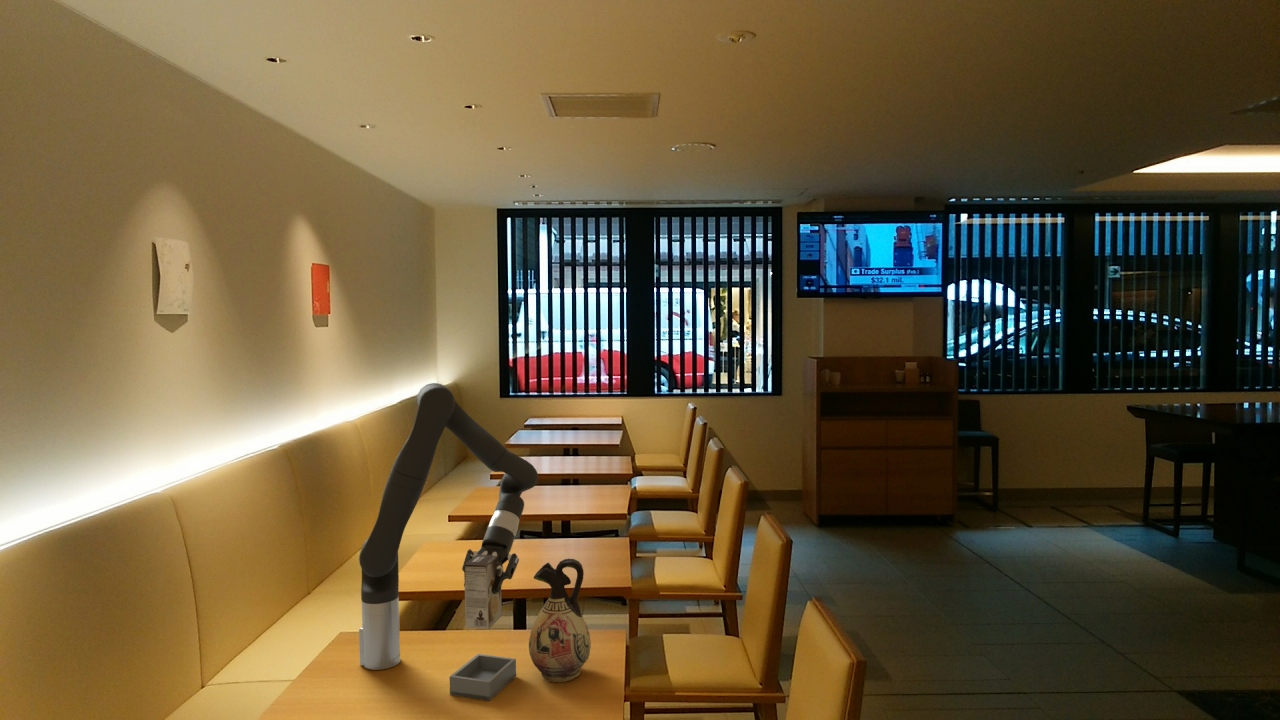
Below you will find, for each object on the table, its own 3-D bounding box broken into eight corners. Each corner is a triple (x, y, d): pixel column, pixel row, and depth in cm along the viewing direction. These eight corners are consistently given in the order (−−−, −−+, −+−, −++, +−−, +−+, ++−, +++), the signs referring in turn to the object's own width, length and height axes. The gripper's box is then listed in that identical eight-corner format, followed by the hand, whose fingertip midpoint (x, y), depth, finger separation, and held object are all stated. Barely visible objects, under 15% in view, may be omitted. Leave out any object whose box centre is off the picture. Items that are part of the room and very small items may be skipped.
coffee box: (478, 614, 209) (477, 552, 208) (502, 616, 208) (501, 554, 207) (464, 628, 200) (463, 563, 199) (489, 630, 199) (488, 565, 198)
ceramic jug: (524, 689, 197) (522, 567, 195) (534, 662, 212) (532, 548, 211) (594, 689, 197) (593, 567, 195) (599, 662, 212) (598, 548, 210)
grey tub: (449, 695, 194) (449, 676, 194) (478, 671, 207) (478, 653, 207) (489, 701, 191) (489, 682, 191) (516, 676, 204) (515, 658, 204)
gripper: (471, 522, 212) (448, 581, 201) (522, 526, 208) (501, 587, 197) (481, 537, 217) (460, 595, 207) (531, 541, 213) (511, 601, 202)
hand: (480, 591), depth 202 cm, fingers closed on coffee box, 6 cm apart
